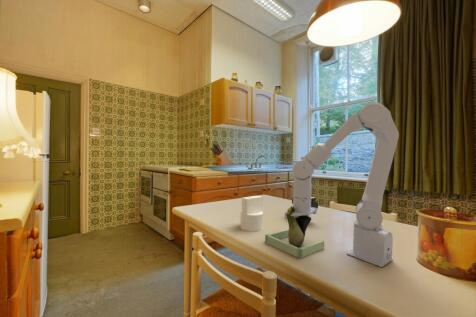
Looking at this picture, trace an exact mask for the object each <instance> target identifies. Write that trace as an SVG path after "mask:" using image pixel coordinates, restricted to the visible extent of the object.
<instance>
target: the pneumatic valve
mask: <svg viewBox="0 0 476 317" xmlns="http://www.w3.org/2000/svg"><path fill="white" fill-rule="evenodd" d="M291 204H292V205H293V198H292V199H291ZM311 207H313V208H317V210H318V209H319V203H318V201H317V198H316V197H314V196H311ZM310 215H311V214H310ZM310 215H308V217H311V216H310Z"/></svg>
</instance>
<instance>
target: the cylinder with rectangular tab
mask: <svg viewBox="0 0 476 317" xmlns="http://www.w3.org/2000/svg"><path fill="white" fill-rule="evenodd" d="M239 226H240V229H242V230H244V231H249V232H257V231H261V230H263V229H264V211H263V196H261V195H253V196H246V197H241V211H240V225H239Z"/></svg>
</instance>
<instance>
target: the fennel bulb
mask: <svg viewBox="0 0 476 317" xmlns="http://www.w3.org/2000/svg"><path fill="white" fill-rule="evenodd" d="M286 211H287V213H286V216H287V219H286V220H287V224H288V229H289V231H288V237H287V239H288V243H289V244H291V245H293V246H296V247H298V246H299V247H300V245H302V244H303V243H304V241H305V237H304V235H303V232H302V230H301V229H300V227H299V225H298V223H297V220H296V218H294V216H291V215H292V212H295V210H294V206H293V205H292V206H290V207H289V208H288V209H287V210H286Z"/></svg>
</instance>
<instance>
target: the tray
mask: <svg viewBox="0 0 476 317" xmlns="http://www.w3.org/2000/svg"><path fill="white" fill-rule="evenodd" d="M288 231H289V228H285V229H283V230H279V231H274V232H272V233H268V234H267V233H266V234H264V236H265V237H264V242H265V243H266V244H269V245H271V246H272V247H275V248H277V249H278V250H281V251H282V252H285V253H287V254H289V255H290V256H291V255H292V256H293V257H295V258H298V259H303V258H305V257H308V256H310V255H312V254H315V253H317V252H319V251H322V250H323V249H325V241H324V240H323V239H322V240H320V239H319V240H318V241H315V242H313V243H312V242H311V243H310V244H307V245H304V246H302V247H298V246H293V245H291V244H290V243H289V242H286V241H284V240H282V239H285V238H288Z"/></svg>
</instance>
